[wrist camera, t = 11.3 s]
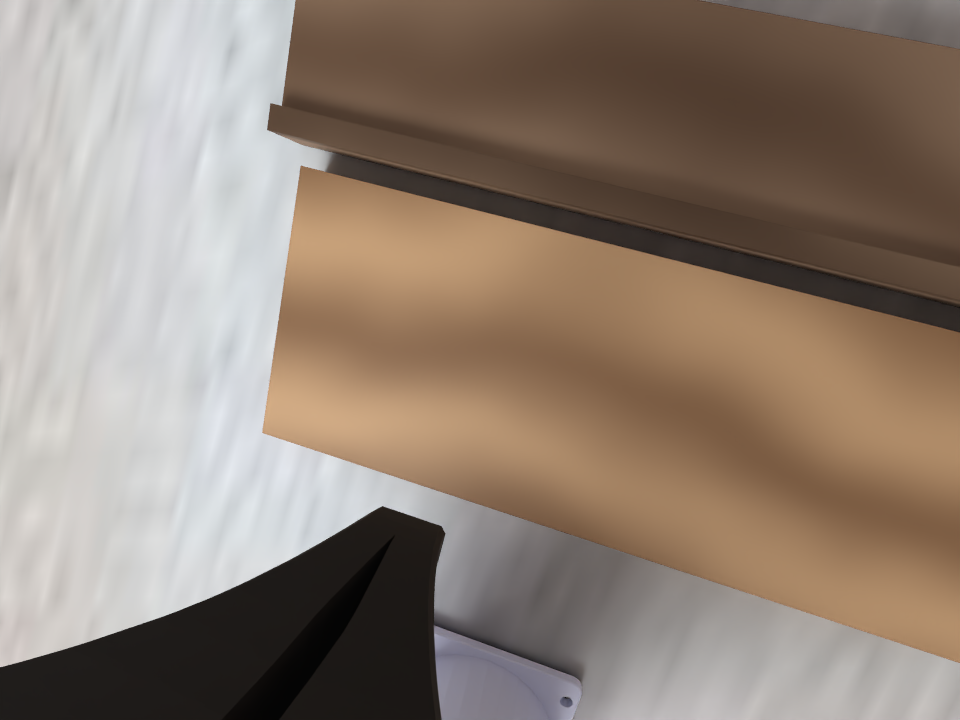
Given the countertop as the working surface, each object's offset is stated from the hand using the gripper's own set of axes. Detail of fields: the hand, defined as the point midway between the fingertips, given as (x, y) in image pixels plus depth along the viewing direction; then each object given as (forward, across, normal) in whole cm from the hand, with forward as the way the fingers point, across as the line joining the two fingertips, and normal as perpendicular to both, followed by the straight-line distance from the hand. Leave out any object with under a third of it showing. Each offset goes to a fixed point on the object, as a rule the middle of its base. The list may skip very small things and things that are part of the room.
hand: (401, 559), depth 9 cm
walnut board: (+9, -5, -11) cm, 15 cm away
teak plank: (+9, -5, -2) cm, 11 cm away
